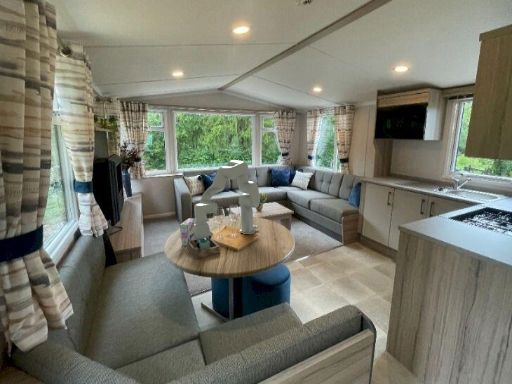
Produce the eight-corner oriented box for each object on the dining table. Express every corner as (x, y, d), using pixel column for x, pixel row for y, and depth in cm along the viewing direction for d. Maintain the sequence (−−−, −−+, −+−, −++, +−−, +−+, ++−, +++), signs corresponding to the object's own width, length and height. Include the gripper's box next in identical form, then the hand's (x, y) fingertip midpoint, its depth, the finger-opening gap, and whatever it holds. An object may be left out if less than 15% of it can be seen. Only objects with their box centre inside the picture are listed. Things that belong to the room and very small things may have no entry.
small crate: (205, 243, 179) (204, 236, 178) (210, 248, 170) (209, 242, 169) (196, 245, 176) (196, 238, 175) (201, 251, 167) (200, 244, 166)
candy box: (189, 246, 180) (187, 224, 177) (181, 246, 182) (179, 224, 178) (197, 238, 194) (195, 218, 190) (190, 238, 195) (188, 217, 191)
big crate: (209, 242, 186) (208, 236, 185) (220, 253, 169) (219, 246, 168) (187, 248, 178) (187, 241, 177) (196, 259, 161) (196, 252, 160)
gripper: (211, 217, 176) (213, 241, 180) (186, 222, 168) (189, 247, 172) (215, 220, 170) (217, 245, 174) (190, 226, 161) (192, 252, 166)
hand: (203, 246), depth 173 cm, fingers closed on small crate, 6 cm apart
